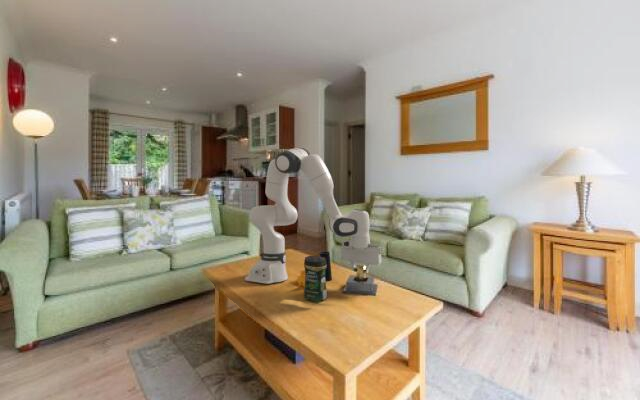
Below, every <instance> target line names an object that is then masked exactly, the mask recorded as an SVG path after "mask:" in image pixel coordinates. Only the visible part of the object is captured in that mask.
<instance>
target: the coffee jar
mask: <svg viewBox="0 0 640 400" xmlns="http://www.w3.org/2000/svg"><path fill="white" fill-rule="evenodd" d="M303 267H304V270H305V288H304V293H303V298H304V299H305V300H307V301H310V302H315V303H316V302H317V303H319V302H323V301H325V300H326V299H327V297H328V292H327V281H326V278H325V271H326V267H327V263H326V258H325V257H320V256H318V255H317V256H316V255H309V256H305V258H304V261H303Z"/></svg>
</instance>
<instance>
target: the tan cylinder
mask: <svg viewBox="0 0 640 400" xmlns="http://www.w3.org/2000/svg"><path fill="white" fill-rule="evenodd" d="M356 267H357V271H356V281H365V277H366V276H367V275H366V274H367V273H364V269H366V268H367V266H366V265H360V264H357V266H356Z"/></svg>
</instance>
